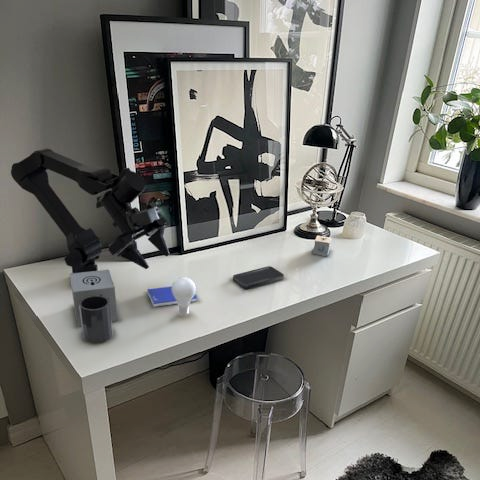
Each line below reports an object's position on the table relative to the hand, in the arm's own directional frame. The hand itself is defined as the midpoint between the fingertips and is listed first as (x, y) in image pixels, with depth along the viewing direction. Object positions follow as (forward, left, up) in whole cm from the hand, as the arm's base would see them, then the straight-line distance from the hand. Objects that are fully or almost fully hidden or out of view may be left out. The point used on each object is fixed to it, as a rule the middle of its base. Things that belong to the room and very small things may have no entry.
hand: (158, 261), depth 131 cm
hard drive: (+4, +5, -14) cm, 15 cm away
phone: (+31, +15, -14) cm, 36 cm away
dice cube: (+57, +34, -14) cm, 67 cm away
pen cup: (-15, -13, -14) cm, 25 cm away
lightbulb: (+6, -5, -14) cm, 16 cm away
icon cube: (-17, -3, -14) cm, 22 cm away
